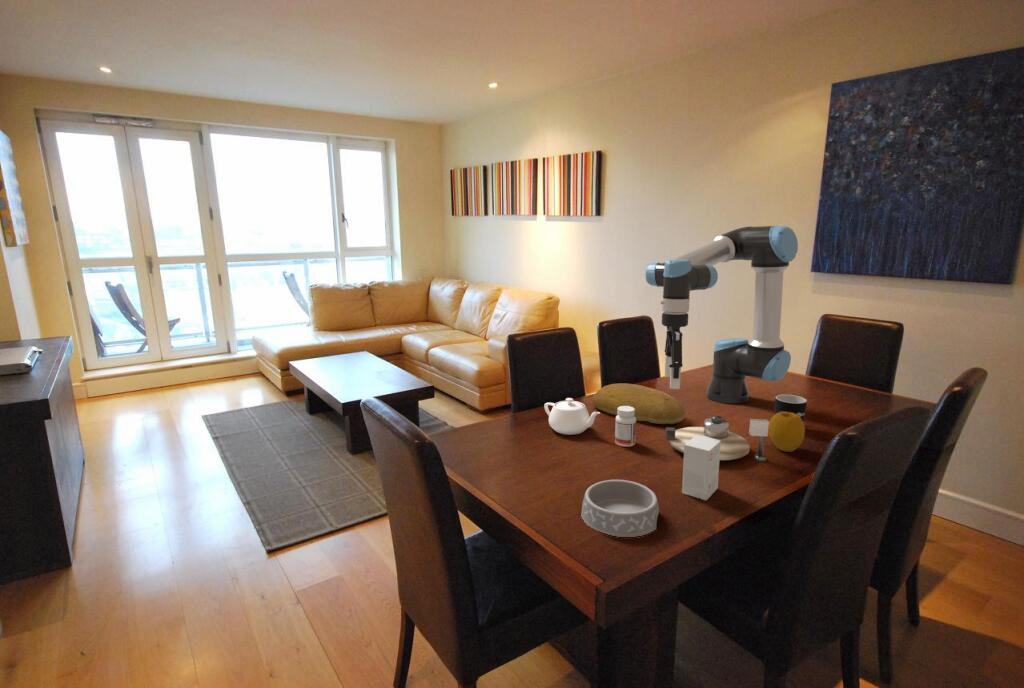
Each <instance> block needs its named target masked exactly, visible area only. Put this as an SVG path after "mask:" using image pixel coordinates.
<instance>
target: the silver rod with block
mask: <svg viewBox="0 0 1024 688" xmlns="http://www.w3.org/2000/svg"><path fill="white" fill-rule="evenodd" d="M769 421H770V420H768V419H767V418H766V419H765V418H763V419H761V418H750V419H749V428H748V429H749V430H748V434H749V435H750V437H751V436H752V437H758V439H759V440H758V447H757V448H758V449H757V453H755V454H754V456H753V459H754V460H755V461H756V462H761V463H763V462H766V460H767V456H766V455H765V454H763V453H764V444H765V437H769V434H768V425H769Z"/></svg>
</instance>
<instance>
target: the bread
mask: <svg viewBox="0 0 1024 688" xmlns="http://www.w3.org/2000/svg"><path fill="white" fill-rule="evenodd" d="M591 399H592V400H591V401H592V404H593V405H594V407H595V408H596V409H598V410H600V411H603V412H605V413H606V414H610V415H613V416H615V417H616V416H617V415H618V414H617V410H618V407H620V406H630V407H633V408H634V409H635V415H634V416H635V418H636V422H637V421H638V422H649V423H652V424H656V425H657V424H659V425H667V424H668V425H674V424H678V423H680V422H682V421H683V420H684V419H685V417H686V410H685V407H684V405H682V403H681V402H680V401H679V400H677V399H676V398H675V397H673V396H672V395H670V394H668V393H666V392H664V391H661V390H659V389H655V388H652V387H647V386H646V385H645V386H644V385H639V384H633V383H627V382H626V383H620V382H619V383H612V384H611V383H610V384H608V385H604V386H603V387H601V388H599V389H598V390H596V392H595V393H594V394H593V396H592V398H591Z"/></svg>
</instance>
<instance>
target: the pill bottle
mask: <svg viewBox="0 0 1024 688" xmlns="http://www.w3.org/2000/svg"><path fill="white" fill-rule="evenodd" d="M617 414H618V415H617V416H616V415H615V420H614V421H615V425H614V426H615V427H614V428H615V431H614V442H615V445H618V446H620V447H625V448H626V447H627V448H628V447H629V448H630V447H633V446H635V445H636V440H637V439H636V437H637V436H636V435H637V420H636V418H635V416H634V415H635V409H634V408H633V407H630V406H620V407H618V410H617Z"/></svg>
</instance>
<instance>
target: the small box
mask: <svg viewBox="0 0 1024 688" xmlns="http://www.w3.org/2000/svg"><path fill="white" fill-rule="evenodd" d="M720 445H721V441H720V440H716V439H712V438H708V437H704V436H699V435H696V436H695V437H693V438H692V439H691V440H690V441H688V442H687V443H686V444H685V445H684V453H683V463H682V465H683V466H682V467H683V468H682V484H681V494H683V495H687V496H690V497H693V498H697V499H699V498H700V499H699V500H702V501H708V499H710V498H711V496H712V495H713V494H714V493H715V492H716V491H717V490H718V486H719V471H720V470H719V469H720V461H721V460H720Z"/></svg>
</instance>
